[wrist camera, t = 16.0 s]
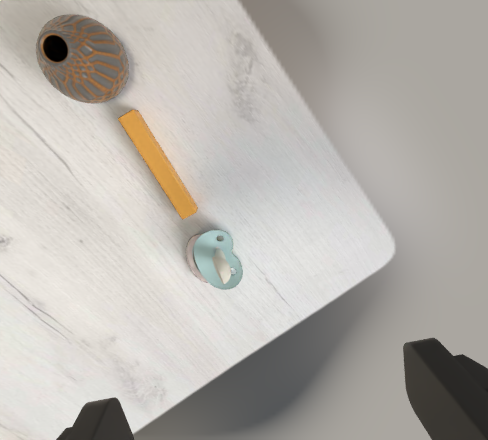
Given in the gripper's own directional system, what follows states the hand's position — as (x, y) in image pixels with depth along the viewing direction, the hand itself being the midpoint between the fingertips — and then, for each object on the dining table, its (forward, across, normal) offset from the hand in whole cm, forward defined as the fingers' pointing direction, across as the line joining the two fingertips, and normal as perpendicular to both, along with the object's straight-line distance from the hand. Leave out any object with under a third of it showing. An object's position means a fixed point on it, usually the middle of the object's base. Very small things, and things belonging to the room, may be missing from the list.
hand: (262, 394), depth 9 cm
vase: (+28, +11, -15) cm, 34 cm away
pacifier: (+28, +5, +7) cm, 30 cm away
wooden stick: (+28, +8, -5) cm, 29 cm away
